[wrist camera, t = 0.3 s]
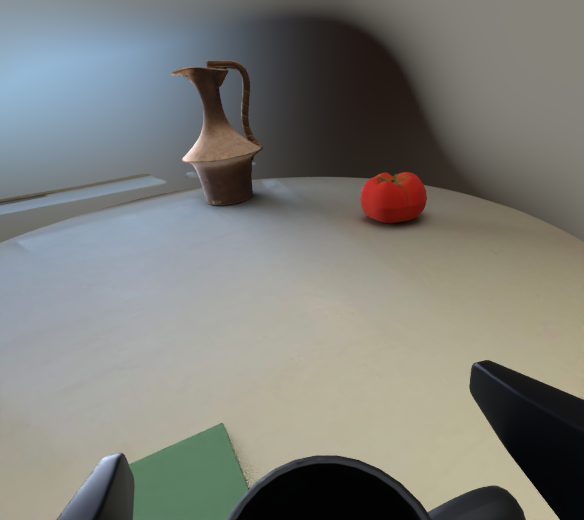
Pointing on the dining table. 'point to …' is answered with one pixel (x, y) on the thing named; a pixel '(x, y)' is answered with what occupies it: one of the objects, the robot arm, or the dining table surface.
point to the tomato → (393, 197)
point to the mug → (358, 496)
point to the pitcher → (221, 137)
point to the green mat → (189, 479)
